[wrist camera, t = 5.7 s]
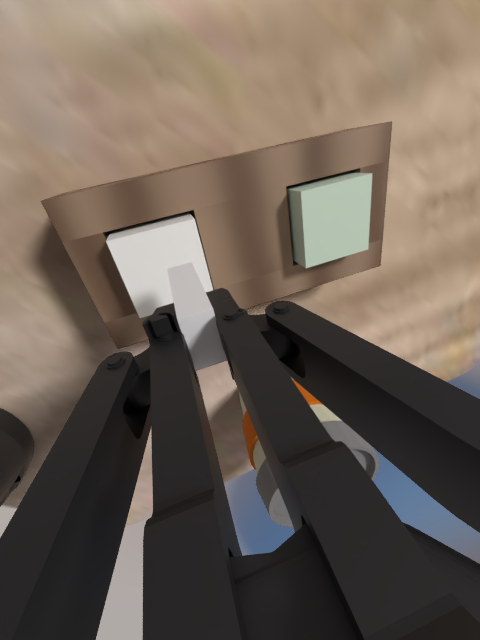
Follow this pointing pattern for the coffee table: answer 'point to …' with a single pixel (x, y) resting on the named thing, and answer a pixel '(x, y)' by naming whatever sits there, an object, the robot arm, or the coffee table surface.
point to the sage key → (329, 217)
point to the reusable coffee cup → (334, 429)
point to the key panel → (223, 220)
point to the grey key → (156, 258)
